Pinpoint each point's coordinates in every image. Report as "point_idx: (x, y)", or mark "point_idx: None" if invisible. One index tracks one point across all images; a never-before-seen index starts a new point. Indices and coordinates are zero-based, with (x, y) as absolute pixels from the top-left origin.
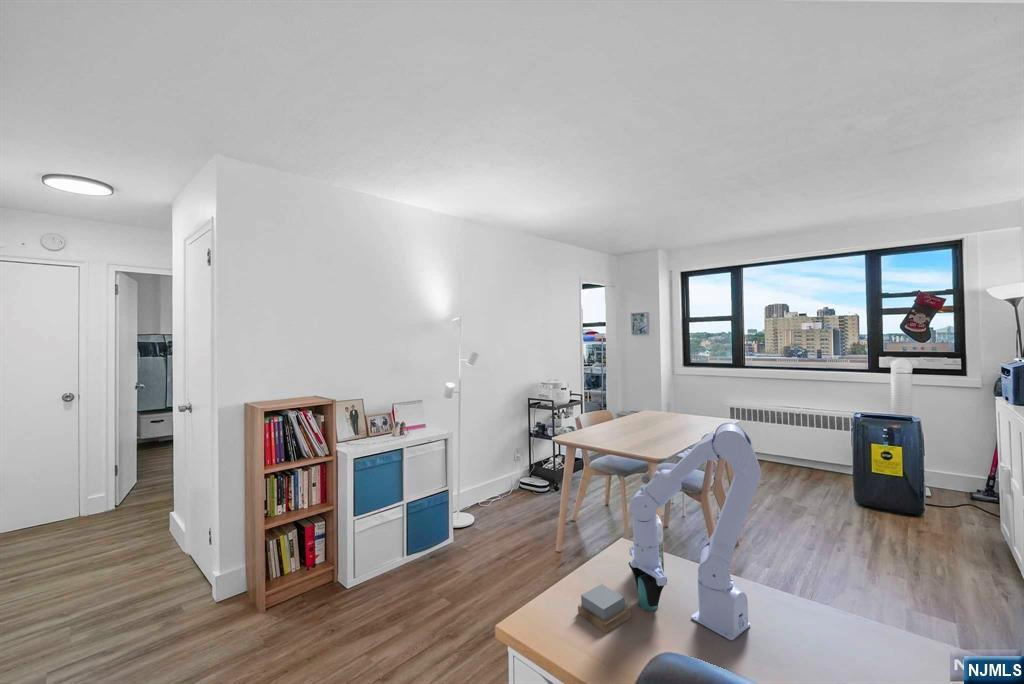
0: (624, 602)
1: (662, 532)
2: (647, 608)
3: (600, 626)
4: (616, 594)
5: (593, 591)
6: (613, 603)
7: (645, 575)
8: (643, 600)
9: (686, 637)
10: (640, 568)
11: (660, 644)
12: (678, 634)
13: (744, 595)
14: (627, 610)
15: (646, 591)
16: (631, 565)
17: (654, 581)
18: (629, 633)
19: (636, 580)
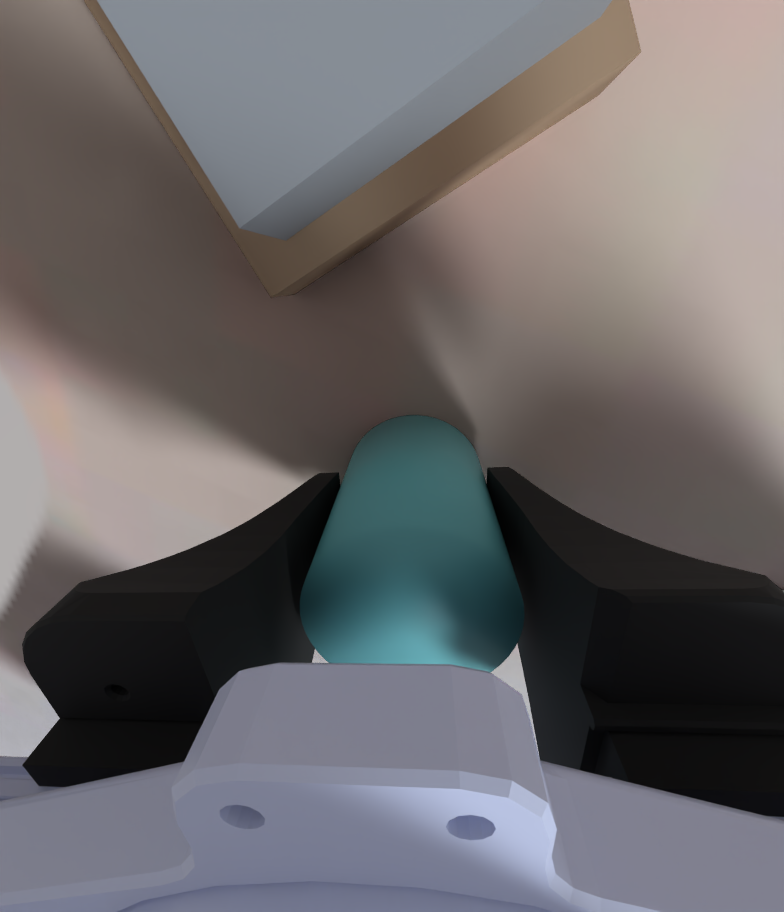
0: (263, 231)
1: None
2: (353, 452)
3: None
4: (310, 116)
5: None
6: None
7: (509, 637)
8: (364, 455)
9: (108, 541)
10: (133, 800)
11: (17, 382)
12: (127, 516)
13: None
14: (250, 254)
15: (279, 523)
16: (312, 685)
17: (70, 718)
18: (92, 195)
19: (530, 511)
